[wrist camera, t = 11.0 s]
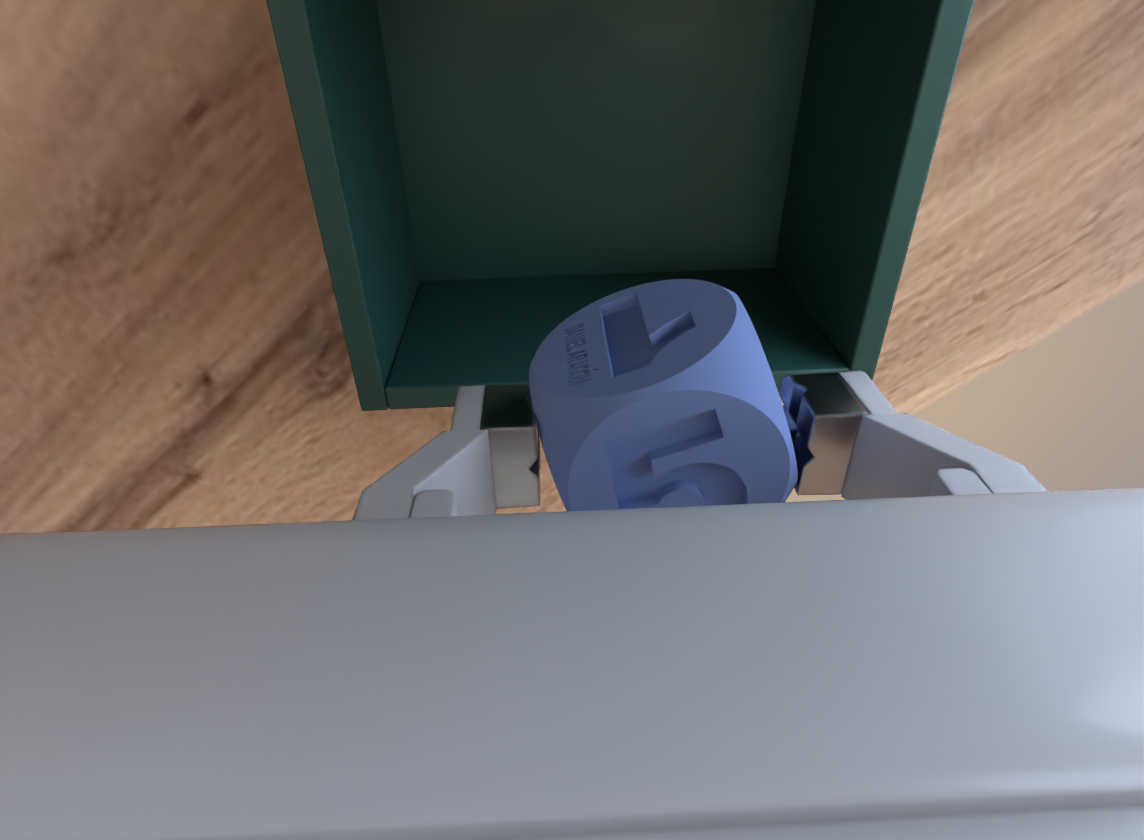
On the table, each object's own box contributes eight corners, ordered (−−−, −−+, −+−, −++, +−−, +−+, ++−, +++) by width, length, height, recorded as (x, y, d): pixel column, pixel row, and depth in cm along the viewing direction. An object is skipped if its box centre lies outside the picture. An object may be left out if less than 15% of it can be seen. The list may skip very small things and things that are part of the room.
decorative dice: (714, 254, 14) (772, 349, 10) (755, 411, 16) (813, 532, 12) (528, 321, 14) (524, 431, 11) (590, 463, 16) (605, 591, 13)
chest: (784, 277, 28) (871, 390, 21) (405, 291, 28) (361, 411, 21) (855, -148, 21) (1030, -200, 13) (333, -138, 20) (221, -186, 13)
